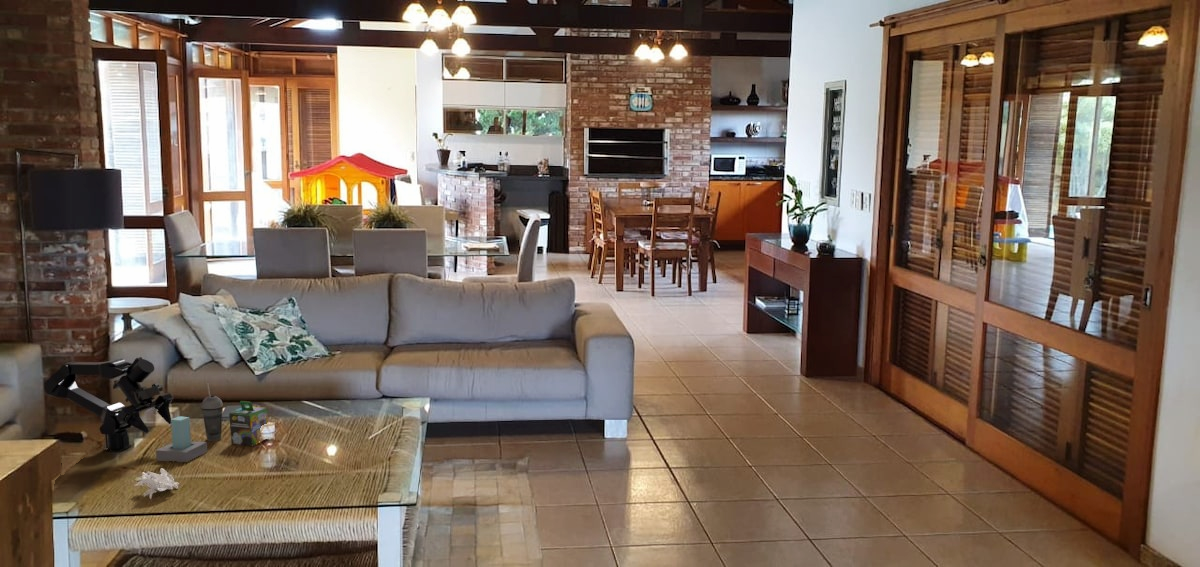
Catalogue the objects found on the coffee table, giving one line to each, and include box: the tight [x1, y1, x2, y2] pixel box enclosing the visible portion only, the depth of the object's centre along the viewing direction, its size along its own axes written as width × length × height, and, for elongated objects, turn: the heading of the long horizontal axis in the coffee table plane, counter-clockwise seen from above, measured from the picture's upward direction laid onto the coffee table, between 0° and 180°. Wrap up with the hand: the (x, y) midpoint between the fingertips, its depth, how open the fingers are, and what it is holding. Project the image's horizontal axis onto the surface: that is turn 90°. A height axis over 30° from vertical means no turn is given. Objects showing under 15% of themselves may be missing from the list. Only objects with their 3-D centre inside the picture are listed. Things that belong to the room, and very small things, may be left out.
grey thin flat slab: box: [222, 403, 261, 420], centre depth 364 cm, size 20×2×15 cm
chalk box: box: [229, 400, 269, 447], centre depth 327 cm, size 9×9×15 cm
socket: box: [155, 440, 208, 463], centre depth 312 cm, size 11×11×4 cm
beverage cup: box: [200, 383, 224, 442], centre depth 329 cm, size 7×7×20 cm
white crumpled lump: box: [134, 467, 180, 500], centre depth 279 cm, size 12×7×12 cm
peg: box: [170, 415, 192, 449], centre depth 311 cm, size 4×4×13 cm
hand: (159, 427), depth 313 cm, fingers open, 9 cm apart
